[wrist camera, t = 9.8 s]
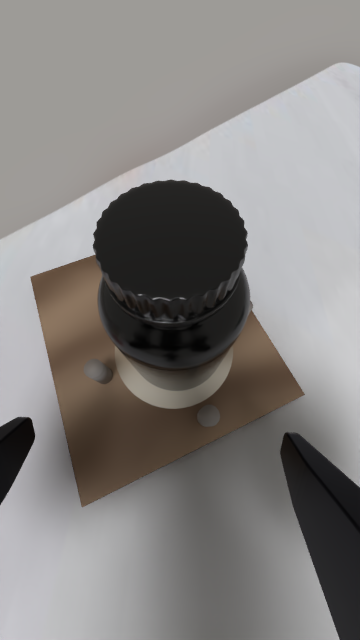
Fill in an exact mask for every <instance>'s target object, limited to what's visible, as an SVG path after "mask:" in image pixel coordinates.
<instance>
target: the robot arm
mask: <svg viewBox="0 0 360 640" xmlns="http://www.w3.org/2000/svg"><path fill="white" fill-rule="evenodd" d="M34 440H35V432H34V428H33V423H32V420H31V418H29V417H17V418H15V419H13V420H12V421H10V422H8V423H6V424H4V425H3V426H1V427H0V505H1V503H2V501H3V500H4V498H5V496H6V495H7V493H8V491H9V490H10V488H11V486H12V484H13V482H14V481H15V479H16V477H17V475H18V473H19V471H20V469H21V467H22V465H23V463H24V461H25V459H26V457H27V455H28V453H29V451H30V449H31V447H32V445H33V443H34ZM280 454H281V460H282V464H283V468H284V472H285V476H286V480H287V484H288V488H289V492H290V496H291V500H292V503H293V507H294V510H295V513H296V516H297V519H298V522H299V525H300V528H301V530H302V533H303V536H304V539H305V542H306V545H307V548H308V550H309V553H310V556H311V559H312V562H313V565H314V567H315V570H316V573H317V576H318V579H319V582H320V585H321V587H322V590H323V593H324V596H325V599H326V602H327V605H328V607H329V610H330V613H331V616H332V619H333V622H334V624H335V627H336V630H337V633H338V636H339V639H340V640H360V487H359V486H357V485H356V484H355V483H354V482H353V481H352V480H351V479H349V478H348V477H347V476H346V475H345V474H344V473H343V472H341V471H340V470H339V469H338V468H337V467H336V466H335V465H333V464H332V463H331V462H330V461H329V460H328V459H327V458H325V457H324V456H323V455H322V454H321V453H320V452H319V451H317V450H316V449H315V448H314V447H313V446H312V445H311V444H310V443H308V442H307V441H306V440H305V439H304V438H303V437H302V436H300V435H299V434H297V433H288V432H287V433H285V434H284V437H283V441H282V446H281V450H280Z"/></svg>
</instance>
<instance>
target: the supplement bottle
mask: <svg viewBox="0 0 360 640" xmlns="http://www.w3.org/2000/svg"><path fill="white" fill-rule="evenodd" d="M93 235H94V239H95V241H94V244H93V249H94V252H95V254H96V263H97V265H98V267H99V268H100V270H101V272H102V277H101V280H100V283H99V288H98V296H97V305H98V312H99V316H100V320H101V323H102V325H103V327H104V329H105V331H106V333H107V335H108V336H109V338H110V339H111V341H112V342H113V343H114V345H115V346H116V347H117V348H118V349H119V350H120V352H121V353H122V354H123V355H124V356H125V357H126V359H127V360H128V361H129V362H130V363H131V364H132V365H133V367H134V368H135V369H136V370H137V371H138V372H139V374H140V375H141V376H142V377H143V378H145V379H146V380H147V381H148V382H149V383H151V384H153V385H154V386H156V387H159V388H161V389H165V390H170V391H184V390H188V389H192V388H194V387H197V386H199V385H201V384H202V383H204V382H205V381H206V380H208V379H209V378H210V377H211V376H212V374H213V373H214V372H215V371H216V370H217V368H218V367H219V365H220V364H221V362H222V361H223V359H224V358H225V356H226V355H227V353H228V352H229V350H230V349H231V347H232V346H233V344H234V343H235V341H236V340H237V338H238V337H239V335H240V333H241V331H242V329H243V327H244V325H245V322H246V320H247V317H248V313H249V307H250V290H249V285H248V281H247V278H246V275H245V273H244V270H243V268H242V266H243V263H244V260H245V254H246V251H247V247H248V244H247V241H246V238H247V231H246V229H245V228H244V220H243V219H242V218H241V217H240V216H239V211H238V210H237V209H236V208H234V207H233V205H232V203H231V201H229V200H227V199H225V198H224V197H223V195H222V194H221V193H218V192H215V191H213V190H212V189H211V188H210V187H205V186H201V185H200V184H198V183H190V182H187V181H174V180H167V181H155V182H153V183H145V184H143V185H141V186H139V187H135V188H132V189H130V190H129V191H128V192H126V193H123V194H121V195H120V196H119V197H118V199H116V200H115V201H113V202H111V203H110V205H109V207H108V208H107V209H106V210H104V211H103V212H102V217H101V218H100V219H99V220H98V222H97V229H96V230H95V232H94V234H93Z"/></svg>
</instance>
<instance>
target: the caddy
mask: <svg viewBox="0 0 360 640" xmlns="http://www.w3.org/2000/svg"><path fill="white" fill-rule="evenodd" d="M101 277H102V272H101V270H100V268H99V267H98V265H97V263H96V255H93V256H90V257H87V258H84V259H81V260H78V261H76V262H73V263H70V264H67V265H64V266H61V267H58V268H55V269H52V270H49V271H46V272H43V273H40V274H37V275H34V276H32V277H31V282H32V286H33V291H34V295H35V300H36V304H37V309H38V313H39V318H40V322H41V327H42V331H43V336H44V340H45V344H46V349H47V353H48V358H49V362H50V367H51V371H52V376H53V380H54V385H55V389H56V394H57V398H58V403H59V407H60V411H61V416H62V420H63V425H64V429H65V434H66V438H67V443H68V447H69V452H70V456H71V461H72V465H73V470H74V474H75V479H76V483H77V487H78V492H79V496H80V501H81V505H82V507H84V506H86V505H88V504H90V503H92V502H94V501H96V500H98V499H100V498H102V497H104V496H106V495H108V494H110V493H112V492H114V491H116V490H117V489H119V488H121V487H123V486H125V485H127V484H129V483H131V482H133V481H135V480H137V479H139V478H141V477H143V476H145V475H147V474H149V473H151V472H153V471H155V470H157V469H159V468H161V467H163V466H165V465H167V464H169V463H171V462H173V461H175V460H177V459H179V458H181V457H183V456H185V455H187V454H189V453H191V452H193V451H194V450H196V449H198V448H200V447H202V446H204V445H206V444H208V443H210V442H212V441H214V440H216V439H218V438H220V437H222V436H224V435H226V434H228V433H230V432H232V431H234V430H236V429H238V428H240V427H242V426H244V425H246V424H248V423H250V422H252V421H254V420H256V419H258V418H260V417H262V416H264V415H266V414H268V413H270V412H271V411H273V410H275V409H277V408H279V407H281V406H283V405H285V404H287V403H289V402H291V401H293V400H295V399H297V398H299V397H301V396H303V395H305V394H304V392H303V391H302V389H301V388H300V386H299V385H298V383H297V381H296V380H295V378H294V377H293V375H292V373H291V372H290V370H289V369H288V367H287V366H286V364H285V362H284V361H283V359H282V358H281V356H280V354H279V353H278V351H277V350H276V348H275V347H274V345H273V343H272V342H271V340H270V339H269V337H268V335H267V334H266V332H265V331H264V329H263V328H262V326H261V324H260V323H259V321H258V320H257V318H256V316H255V315H254V313H253V312H252V308H253V304H252V302H251V301H250V307H249V313H248V317H247V320H246V322H245V325H244V327H243V329H242V331H241V333H240V335H239V337H238V338H237V340H236V341H235V343H234V344H233V346H232V347H231V349H230V350H229V352H228V353H227V355H226V356H225V358H224V359H223V361H222V362H221V364H220V365H219V367H218V368H217V370H216V371H215V372H214V373H213V374H212V376H211V377H210V378H209V379H208V380H206V381H205V382H204V383H202V384H201V385H199V386H197V387H194V388H192V389H188V390H184V391H170V390H165V389H161V388H159V387H156V386H154V385H153V384H151V383H149V382H148V381H147V380H146V379H145V378H143V377H142V376H141V375H140V374H139V372H138V371H137V370H136V369H135V368H134V367H133V365H132V364H131V363H130V362H129V361H128V360H127V359H126V357H125V356H124V355H123V354H122V353H121V352H120V350H119V349H118V348H117V347H116V346H115V345H114V343H113V342H112V341H111V339H110V338H109V336H108V335H107V333H106V331H105V329H104V327H103V325H102V323H101V320H100V316H99V312H98V305H97V296H98V288H99V283H100V280H101Z"/></svg>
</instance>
